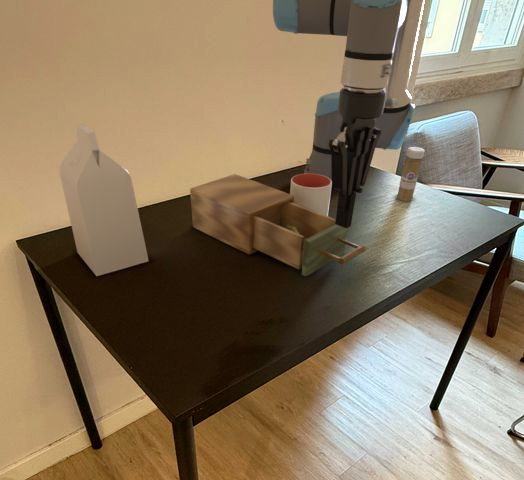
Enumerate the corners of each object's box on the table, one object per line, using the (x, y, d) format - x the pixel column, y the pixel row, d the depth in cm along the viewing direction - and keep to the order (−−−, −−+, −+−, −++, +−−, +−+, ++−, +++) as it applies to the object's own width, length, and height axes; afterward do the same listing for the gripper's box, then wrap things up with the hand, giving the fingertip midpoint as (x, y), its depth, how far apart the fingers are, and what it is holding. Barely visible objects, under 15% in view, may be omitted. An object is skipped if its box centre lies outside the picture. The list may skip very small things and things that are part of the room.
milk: (148, 261, 97) (128, 132, 81) (96, 276, 92) (63, 141, 75) (126, 239, 105) (104, 117, 88) (77, 252, 100) (43, 125, 83)
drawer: (369, 265, 97) (376, 231, 92) (332, 289, 89) (337, 253, 84) (281, 228, 110) (283, 196, 105) (242, 246, 102) (242, 213, 97)
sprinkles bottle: (399, 201, 127) (410, 151, 118) (394, 195, 130) (405, 146, 122) (415, 201, 127) (427, 151, 118) (409, 195, 131) (421, 146, 122)
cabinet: (291, 234, 109) (294, 195, 103) (249, 255, 101) (250, 214, 95) (235, 210, 119) (234, 173, 113) (192, 227, 111) (189, 188, 105)
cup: (282, 223, 114) (285, 183, 107) (295, 208, 121) (298, 170, 114) (320, 230, 111) (325, 190, 105) (331, 215, 118) (336, 177, 112)
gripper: (360, 97, 68) (338, 242, 83) (404, 87, 75) (377, 221, 90) (320, 89, 71) (307, 229, 87) (366, 80, 79) (346, 210, 94)
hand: (342, 225), depth 88 cm, fingers closed
